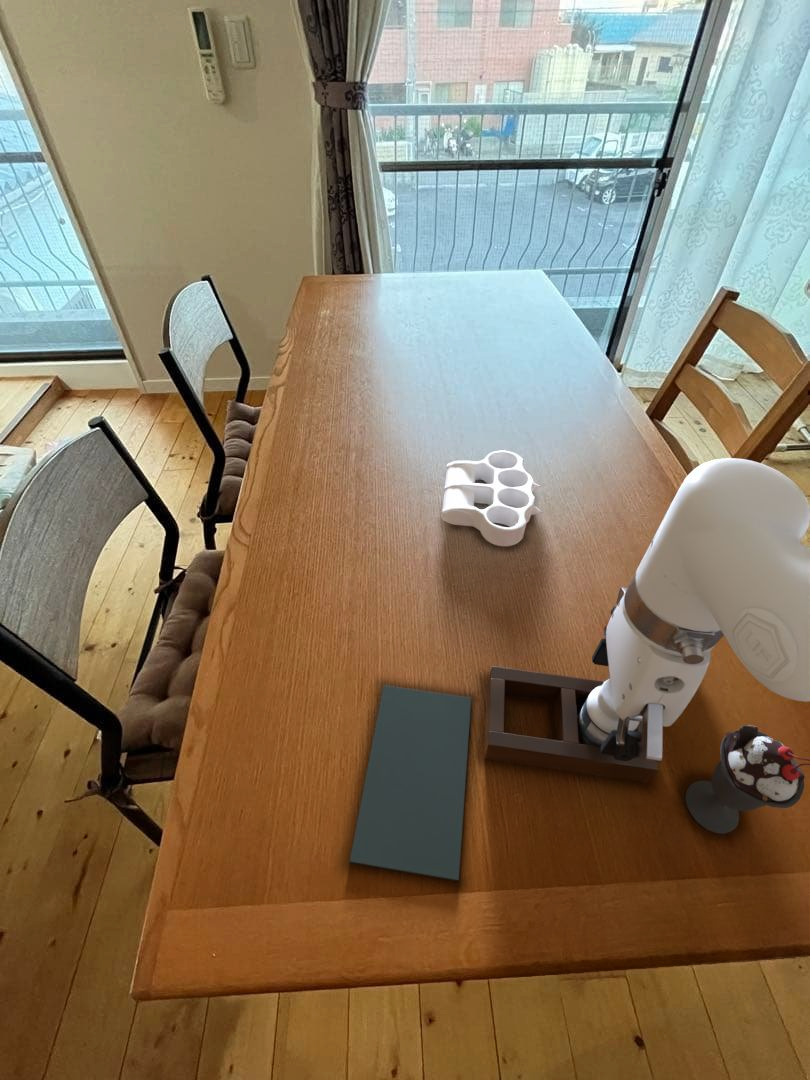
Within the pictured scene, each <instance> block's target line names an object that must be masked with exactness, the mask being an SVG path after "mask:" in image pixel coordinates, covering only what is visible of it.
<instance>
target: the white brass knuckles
mask: <svg viewBox="0 0 810 1080" xmlns="http://www.w3.org/2000/svg"><path fill="white" fill-rule="evenodd" d="M524 462H525V460H524V459H523V458H522V457H521V456H520V455H519V454H517V453H515V452H513V451H509V450H495V451H491V452H490V453H489V454H487V455H486V457H485V458H484V459H482V460H479V461H472V460H454V461H451V462H449V463H447V465H446V471H445V472H446V473H445V482H444V491H443V502H442V510H441V520H442V521H444V522H446V523H448V524H450V525H455V526H463V527H464V526H465V527H473V528H474V529H476V530H478V531H480V534H481V536H482V537H483V538H484V540H485V541H487V542H488V543H489V544H492V545H494V546H497V547H512V546H514V545H515V546H516V545H517V544H518V543H520V542H521V541H522V540H523V539H524V534H525V530H526V526H527V523H529V522H530V520H531V516H535V515H540V514H543V511H542V510H540V509H539V508H538V507H537V506H536V505H535V502H536V497H535V495H534V494H533V492H534V491H535V490H537V489H539V488H540V487H542V486H541V485H539V484H537V483H535V481H534V480H533V477H532V475H531V474H530V473H528V472H527V471H526V470H525V468H524ZM478 480H480V481H481V480H482V481H483V482H485V483H478V482H477V483H476V481H478ZM475 504H484V505H485V504H486V505H488V506H487V507H485V508H484V509H480V508H478V507H476V506H475ZM498 524H500V525H498ZM502 525H504V526H502ZM506 526H507V527H506Z"/></svg>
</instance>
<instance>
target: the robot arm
mask: <svg viewBox="0 0 810 1080" xmlns="http://www.w3.org/2000/svg"><path fill="white" fill-rule="evenodd" d="M669 505H670V506H669V507H668V508H667V510H666V513H665V514H664V516H663V519H662V521H661V523H660V525H659V527H658V528H657V530H656V533H655V534H654V536H653V538H652V539H651V542H650V544H649V545H648V548H647V549H646V552H645V554H644V555H643V557H642V560H641V561H640V563H639V565H638V567H637V569H636V570H635V572H634V574H633V576H632V578H631V580H630V582H629V584H628V585H627V587H620V588H619V590H618V591H619V592H618V595H617V599H616V603H615V604H616V605H614V606H613V607H612V609H611V610H610V615H611V616H610V618H609V620H608V623H607V625H605V627H604V628H603V637H604V638H601V639H600V641H599V642H598V645H597V647H596V648H595V650H594V652H593V654H592V656H591V662H592V663H593V664H594V665H597V666H605V667H608V674H609V679H610V681H611V689H612V697H613V704H614V708H615V712H616V714H617V715H618V716H619V721H618V727H617V730H612V731H611V733H610V734H609V735H608V737H607V738H606V740H605V741H604V743H603V744H602V746H601V747H600V748H601V753H602V754H604V755H611V756H613V757H614V759H616V760H620V761H630V760H632V759H633V758H636V757H637V758H640V759H643V760H648V761H655V762H657V763H661V762H662V761H663V741H664V740H663V738H664V727H666V728H667V727H671V726H672V725H674V723H675V722H676V721H677V720H678V718H679V717H680V716H681V715H682V714H683V713H684V711H685V709H686V708H687V707H688V704H690V702H691V701H692V699H693V697H694V696H695V694H696V693H697V691H698V690H699V687H700V685H701V683H702V682H703V680H704V678H705V675H706V673H707V671H708V668H709V665H710V662H711V658H712V657H711V650H713V649H714V648H715V646H716V645H717V644H718V643H719V642H720V640H721V639H722V638H723V637H724V638H725V640H726V642H727V643H728V645H729V646H730V648H731V650H732V651H733V652H734V654H735V656H736V657H737V658H738V661H740V663H741V664H742V665H743V667H744V668H745V669H746V670H747V672H749V673H750V675H751V676H752V677H753V678H754V679H755V680H756V681H758V682H759V683H760V684H761V685H762V686H763V687H765V688H766V689H768V690H769V691H771V692H773V693H774V694H776V695H778V696H780V697H782V698H786V699H788V700H792V701H797V702H807V703H809V702H810V546H808V545H805V544H804V543H803V542H802V539H803V538H804V536H805V535H806V533H807V531H808V529H809V526H810V503H809V501H808V498H807V497H806V495H805V494H804V491H803V490H802V489H801V488H800V487H799V486H798V485H797V484H796V483H795V482H794V481H793V480H792V479H791V478H790V477H788V476H787V475H785V474H784V473H783V472H781V471H779V470H777V469H775V468H773V467H771V466H769V465H767V464H763V463H761V462H758V461H754V460H750V459H745V458H738V457H737V458H736V457H731V458H729V457H727V458H725V457H724V458H716V459H712V460H709V461H705V462H704V463H702V464H700V465H698V466H697V467H696V468H694V469H692V471H690V473H688V475H687V476H686V477H685V479H683V481H682V482H681V485H680V487H679V488H678V490H677V492H676V493H675V496H674V498H673V500H672V501H671V503H670V504H669ZM642 709H643V711H642ZM630 720H633V721H640V722H642V732H637V731H630V730H628V727H629V722H630Z"/></svg>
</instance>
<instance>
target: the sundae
mask: <svg viewBox="0 0 810 1080" xmlns="http://www.w3.org/2000/svg"><path fill="white" fill-rule="evenodd" d="M719 750H720V753H719V755H720V759H719V761H718V763H717V764H716V766H715V768H714V770H713V773H712V775H711V780H710V781H709V780H697V781H695V782H693V783H691V784H690V785H689V786H688V788H687V790H686V792H685V803H686V807H687V809H688V811H689V814H690V815H691V816H692V818H693V819H694V820H695V821H696V823H698V825H700V826H701V827H703V828H704V829H706V830H707V831H710V832H712V833H716V834H729V833H731V832H732V831H734V830H735V829H736V828H737V826H738V824H739V821H740V814H739V812H748V811H755V810H757V809H759V808H761V807H764V806H768V807H771V808H778V809H788V808H791V807H793V806H794V805H796V804H797V803H798V802H799V801H800V799H801V797H802V795H803V793H804V790H805V778H806V777H805V774H804V773H803V771H802V769H801V766H810V758H804V757H803V758H802V757H799V756H797V755H795V753H794V751H793V749H792V748H791V747H790V746H785V745H784V743H782V742H780V741H778V740H776V739H774V738H772V737H771V736H769V735H768V734H766V733H764V732H761V731H759V727H758V726H757V725H754V724H753V725H752V724H746V725H745V724H742V725H740V727H739V729H736V730H734V731H727V732H726V733H725V736H724V737H723V738H722V740H721V743H720V747H719ZM794 758H795V759H798V760H801V761H808V762H809V763H807V762H805V763H804V762H803V763H799V764H798V762H797V761H796V760H795V759H794Z"/></svg>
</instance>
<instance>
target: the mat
mask: <svg viewBox="0 0 810 1080" xmlns="http://www.w3.org/2000/svg"><path fill="white" fill-rule="evenodd" d="M471 710H472V697H471V696H470V697H469V696H463V695H455V694H449V693H442V692H434V691H428V690H421V689H414V688H406V687H400V686H399V687H398V686H393V685H385V684H384V685H382V690H381V695H380V700H379V706H378V711H377V716H376V721H375V727H374V732H373V737H372V741H371V742H372V743H371V748H370V752H369V758H368V761H367V762H368V763H367V769H366V773H365V779H364V783H363V789H362V793H361V794H362V795H361V799H360V803H359V804H360V805H359V809H358V815H357V820H356V826H355V831H354V836H353V841H352V846H351V851H350V857H349V863H350V864H354V865H360V866H366V867H372V868H378V869H384V870H390V871H395V872H401V873H408V874H414V875H420V876H425V877H431V878H436V879H441V880H442V879H443V880H448V881H454V882H459V881H460V868H461V855H462V841H463V840H462V839H463V825H464V812H465V811H464V809H465V797H466V781H467V770H468V769H467V767H468V754H469V739H470V738H469V737H470V723H471Z"/></svg>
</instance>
